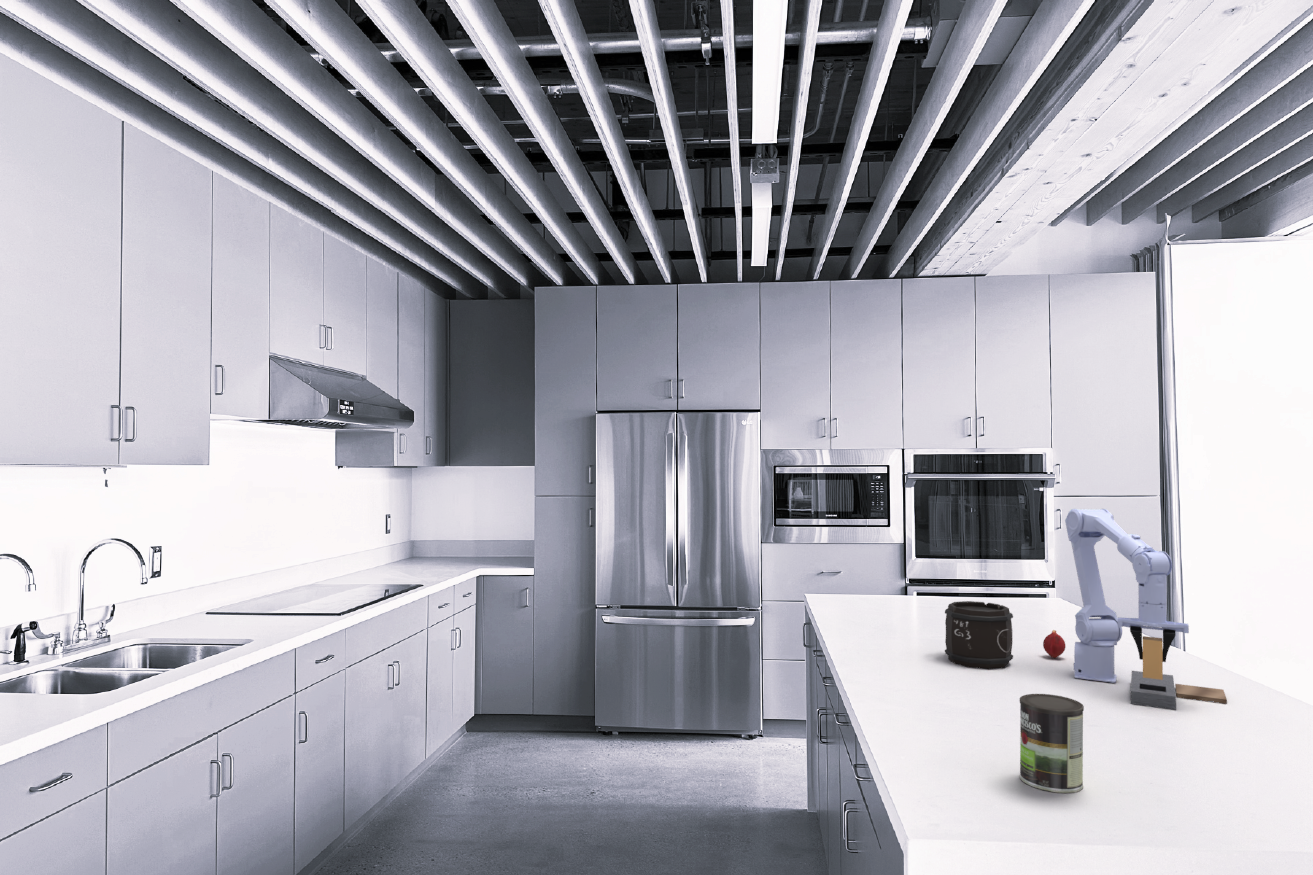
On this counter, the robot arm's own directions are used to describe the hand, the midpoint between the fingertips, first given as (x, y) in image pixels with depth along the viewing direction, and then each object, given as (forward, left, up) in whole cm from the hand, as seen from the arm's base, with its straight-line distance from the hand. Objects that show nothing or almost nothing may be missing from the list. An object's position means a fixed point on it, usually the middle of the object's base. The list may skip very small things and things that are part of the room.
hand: (1152, 659), depth 199 cm
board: (+10, +11, -10) cm, 18 cm away
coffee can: (-16, -68, -10) cm, 71 cm away
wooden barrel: (-42, +18, -10) cm, 47 cm away
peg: (0, 0, -4) cm, 4 cm away
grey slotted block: (0, +5, -10) cm, 11 cm away
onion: (-24, +34, -10) cm, 43 cm away
